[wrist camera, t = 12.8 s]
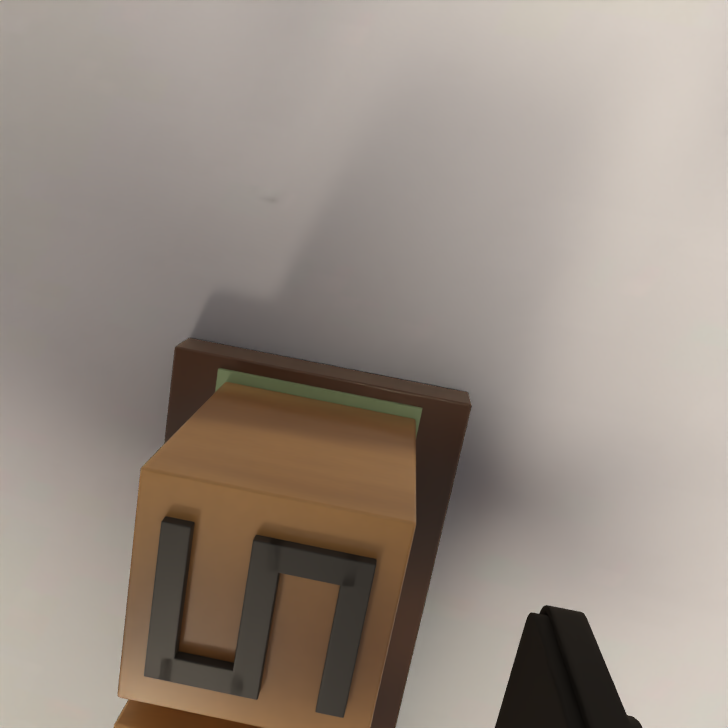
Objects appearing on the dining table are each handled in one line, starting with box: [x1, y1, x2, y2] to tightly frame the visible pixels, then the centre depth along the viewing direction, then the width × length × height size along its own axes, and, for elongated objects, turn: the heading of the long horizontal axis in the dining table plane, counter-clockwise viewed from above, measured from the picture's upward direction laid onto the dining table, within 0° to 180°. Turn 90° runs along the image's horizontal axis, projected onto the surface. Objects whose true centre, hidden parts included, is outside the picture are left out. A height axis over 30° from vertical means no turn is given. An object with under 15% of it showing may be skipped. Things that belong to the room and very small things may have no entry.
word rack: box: [114, 338, 472, 728], centre depth 15 cm, size 16×7×6 cm, turn 170°
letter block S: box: [118, 382, 416, 728], centre depth 13 cm, size 4×4×5 cm
